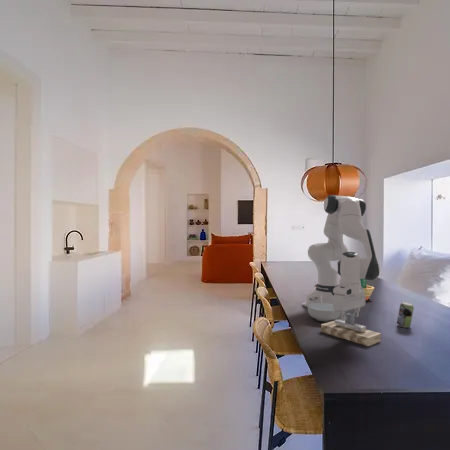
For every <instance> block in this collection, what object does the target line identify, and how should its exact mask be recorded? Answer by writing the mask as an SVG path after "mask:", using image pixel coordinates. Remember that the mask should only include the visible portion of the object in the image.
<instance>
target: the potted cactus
mask: <svg viewBox="0 0 450 450" xmlns="http://www.w3.org/2000/svg"><path fill="white" fill-rule="evenodd" d="M360 281H361V286H362V288H363V289H364V292H365V301H369V300H370V297H371V295H372V293H373V291H374V290H375V287H374V286H372V285H368V280H366V279H360ZM368 299H369V300H368Z"/></svg>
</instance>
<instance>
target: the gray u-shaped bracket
mask: <svg viewBox="0 0 450 450" xmlns="http://www.w3.org/2000/svg"><path fill="white" fill-rule="evenodd" d="M344 314H345V316H346V320H345V321H342V320H341V318H340V319H338V318H337V319H334V321H335V325H337V327H341V328H342V327H345V328H349V329H352V330H356V331H357V332H359V333H363V332H364V331H366V330H367V326H366V325H361V324H359V323H355V321H356V317H355V315H354V314H353V313H350V312H347V313H344Z"/></svg>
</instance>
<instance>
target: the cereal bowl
mask: <svg viewBox="0 0 450 450" xmlns="http://www.w3.org/2000/svg"><path fill="white" fill-rule="evenodd" d="M307 312H308V315H309V316H311V318H314V319H316V321H319V322H324V323H328V322H331V321H335V320H337V319H338V318H339V317H340V316H341V315H340V313H339V312H337V311H335V310H334V308H333V304H327V303H312V304H309V305H308V307H307Z"/></svg>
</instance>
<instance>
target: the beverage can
mask: <svg viewBox="0 0 450 450" xmlns="http://www.w3.org/2000/svg"><path fill="white" fill-rule="evenodd" d="M414 308H415V307H414V305H413V304H412V303H410V302H407V301H401V303H400V304H399V309H398V315H397V321H396V323H397V325H398V326H399V327H401V328H404V329H405V328H410V327H411V326H412V324H411V323H412V319H413V313H414Z"/></svg>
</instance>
